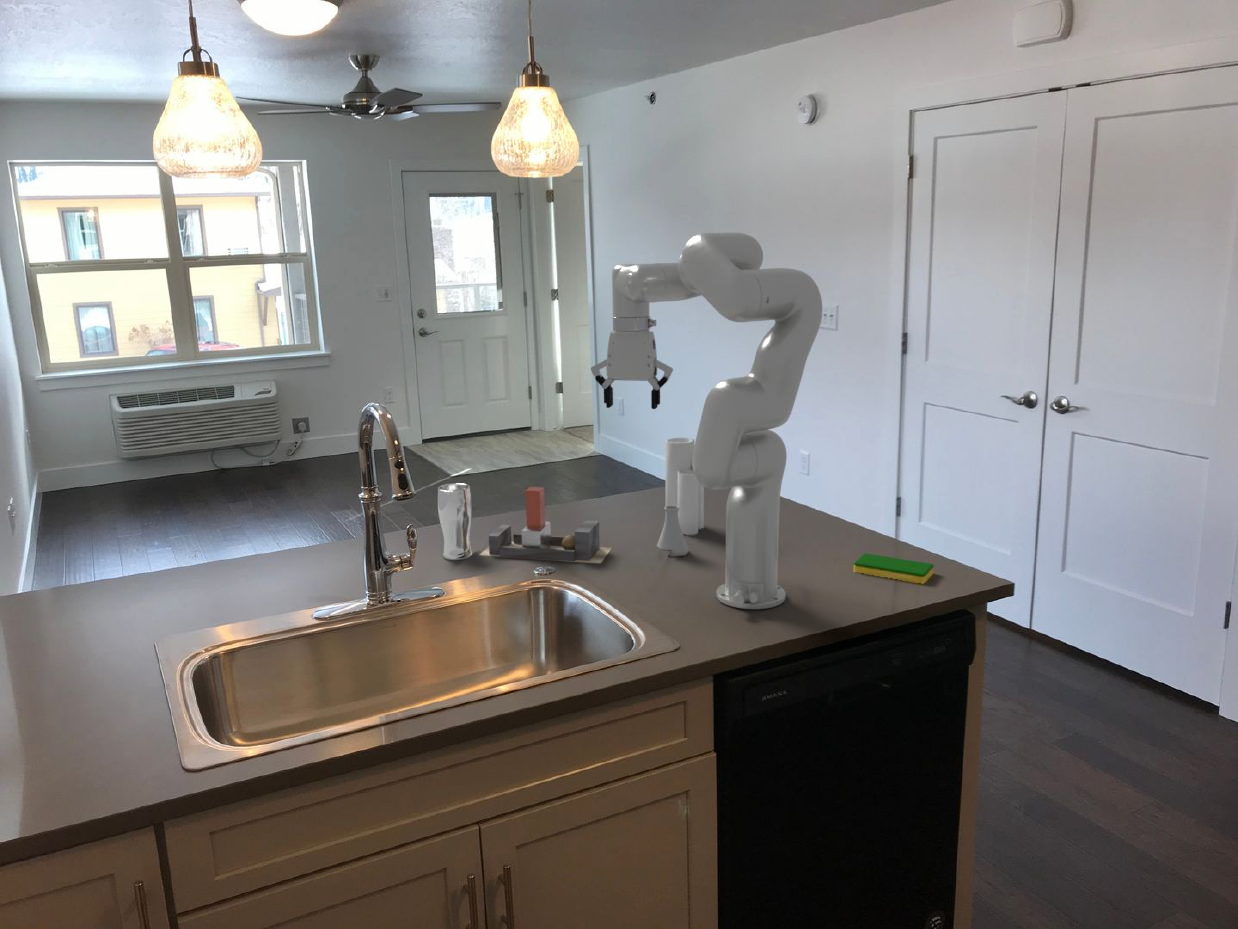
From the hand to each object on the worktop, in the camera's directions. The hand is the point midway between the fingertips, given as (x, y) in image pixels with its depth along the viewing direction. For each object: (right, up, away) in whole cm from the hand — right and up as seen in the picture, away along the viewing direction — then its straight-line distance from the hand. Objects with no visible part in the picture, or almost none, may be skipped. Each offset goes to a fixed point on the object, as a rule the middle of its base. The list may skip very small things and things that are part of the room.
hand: (632, 407), depth 202 cm
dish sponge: (+51, -34, -12) cm, 63 cm away
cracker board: (-18, -32, -1) cm, 36 cm away
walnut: (-13, -30, -2) cm, 33 cm away
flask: (+8, -31, +2) cm, 32 cm away
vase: (+13, -27, +19) cm, 35 cm away
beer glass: (-37, -31, +2) cm, 48 cm away
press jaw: (-20, -30, -1) cm, 36 cm away
